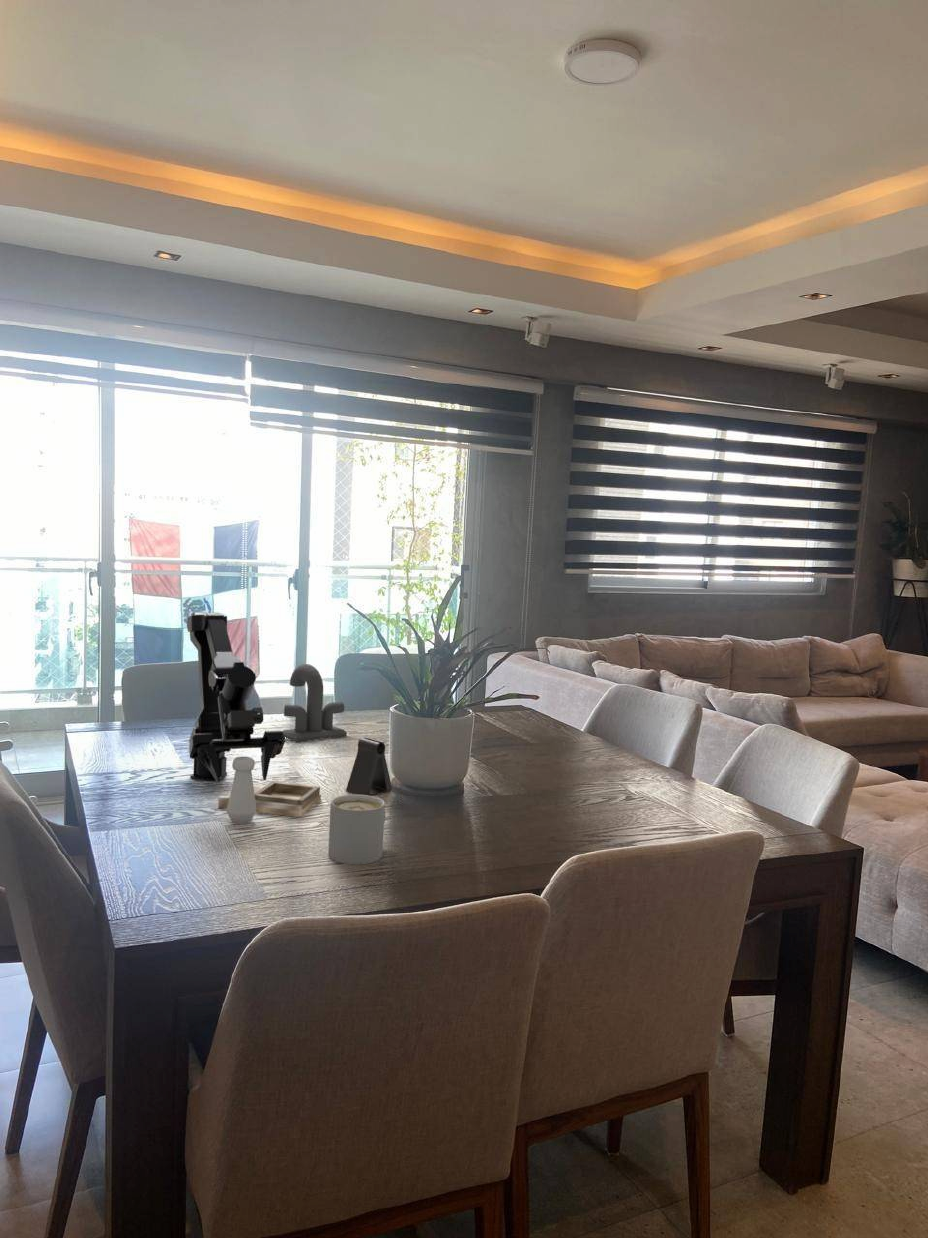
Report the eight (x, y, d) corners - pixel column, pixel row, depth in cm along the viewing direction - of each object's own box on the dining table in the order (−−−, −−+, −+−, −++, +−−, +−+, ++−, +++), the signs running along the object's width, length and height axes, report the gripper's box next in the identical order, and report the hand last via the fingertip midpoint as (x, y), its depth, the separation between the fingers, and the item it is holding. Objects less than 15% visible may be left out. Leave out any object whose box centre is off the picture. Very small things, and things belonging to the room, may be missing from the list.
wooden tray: (218, 807, 196) (218, 792, 196) (243, 790, 209) (244, 776, 208) (299, 817, 193) (300, 802, 192) (320, 799, 206) (321, 785, 205)
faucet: (317, 725, 280) (320, 659, 278) (348, 735, 269) (351, 667, 267) (264, 731, 268) (267, 662, 266) (294, 742, 256) (297, 670, 254)
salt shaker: (229, 815, 191) (231, 753, 190) (257, 816, 191) (260, 754, 190) (224, 825, 185) (226, 760, 184) (253, 826, 186) (256, 762, 184)
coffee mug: (353, 868, 166) (356, 814, 165) (317, 853, 173) (319, 800, 172) (406, 851, 176) (409, 800, 175) (369, 838, 183) (372, 788, 182)
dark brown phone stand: (363, 798, 209) (366, 745, 208) (345, 791, 213) (348, 740, 212) (392, 791, 216) (395, 740, 215) (374, 785, 220) (377, 735, 219)
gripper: (193, 694, 187) (200, 761, 178) (285, 692, 195) (296, 757, 186) (186, 724, 195) (192, 791, 186) (274, 722, 203) (285, 785, 194)
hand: (242, 780), depth 188 cm, fingers open, 9 cm apart
